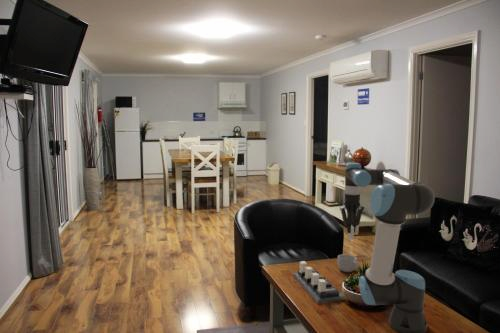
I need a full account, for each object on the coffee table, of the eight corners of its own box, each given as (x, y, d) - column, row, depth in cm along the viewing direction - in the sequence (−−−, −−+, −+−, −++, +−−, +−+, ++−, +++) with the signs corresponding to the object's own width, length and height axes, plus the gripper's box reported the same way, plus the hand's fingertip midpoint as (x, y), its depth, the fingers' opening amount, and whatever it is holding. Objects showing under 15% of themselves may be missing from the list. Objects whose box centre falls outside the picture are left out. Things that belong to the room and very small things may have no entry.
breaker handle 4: (325, 291, 193) (326, 281, 192) (320, 292, 192) (320, 282, 191) (323, 288, 196) (323, 278, 195) (317, 289, 195) (318, 279, 195)
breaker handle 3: (318, 284, 201) (319, 275, 200) (313, 285, 200) (314, 275, 199) (316, 281, 204) (316, 272, 203) (311, 282, 203) (311, 273, 202)
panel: (344, 299, 193) (344, 291, 193) (317, 303, 190) (317, 295, 189) (316, 273, 224) (316, 266, 223) (293, 276, 220) (293, 269, 220)
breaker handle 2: (312, 278, 208) (312, 268, 207) (307, 278, 207) (307, 269, 207) (309, 275, 211) (310, 266, 211) (305, 276, 211) (305, 267, 210)
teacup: (333, 267, 233) (334, 254, 232) (350, 265, 236) (350, 252, 235) (346, 277, 220) (346, 263, 218) (363, 274, 223) (364, 261, 222)
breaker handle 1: (306, 272, 216) (306, 263, 215) (301, 272, 215) (301, 263, 214) (304, 269, 219) (304, 261, 218) (299, 270, 218) (299, 261, 218)
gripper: (359, 191, 206) (358, 235, 209) (337, 192, 202) (335, 237, 205) (367, 194, 199) (366, 239, 202) (344, 195, 195) (343, 242, 198)
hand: (350, 238), depth 204 cm, fingers closed
